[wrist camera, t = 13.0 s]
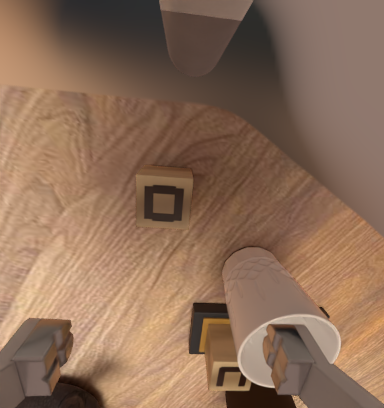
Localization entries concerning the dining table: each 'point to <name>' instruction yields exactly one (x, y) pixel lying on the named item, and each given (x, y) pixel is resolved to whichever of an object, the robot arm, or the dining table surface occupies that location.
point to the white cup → (269, 310)
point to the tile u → (223, 361)
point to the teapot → (61, 399)
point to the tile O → (164, 197)
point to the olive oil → (258, 398)
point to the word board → (205, 316)
